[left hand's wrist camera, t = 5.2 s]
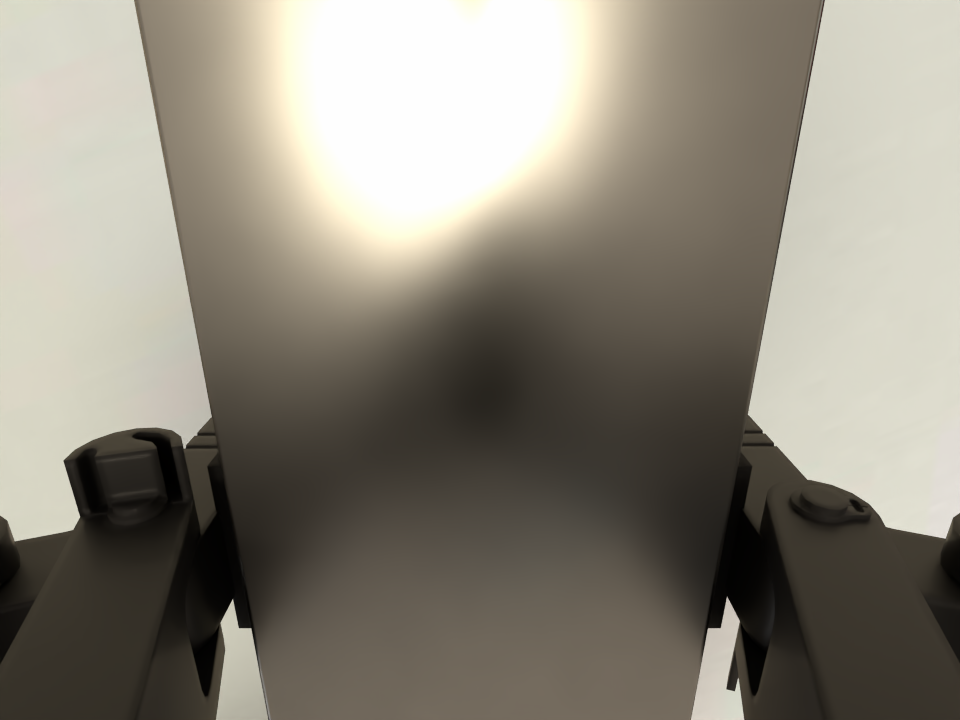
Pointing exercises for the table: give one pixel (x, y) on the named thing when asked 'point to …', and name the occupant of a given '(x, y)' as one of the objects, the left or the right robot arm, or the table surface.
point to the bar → (479, 331)
